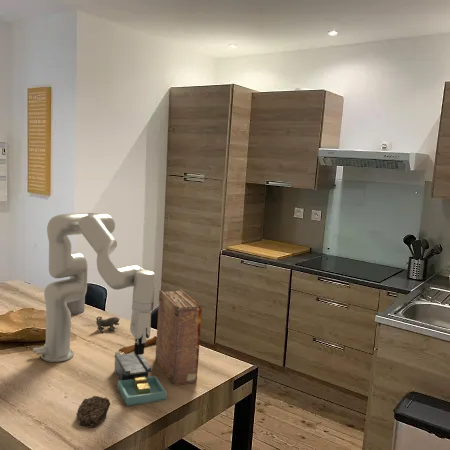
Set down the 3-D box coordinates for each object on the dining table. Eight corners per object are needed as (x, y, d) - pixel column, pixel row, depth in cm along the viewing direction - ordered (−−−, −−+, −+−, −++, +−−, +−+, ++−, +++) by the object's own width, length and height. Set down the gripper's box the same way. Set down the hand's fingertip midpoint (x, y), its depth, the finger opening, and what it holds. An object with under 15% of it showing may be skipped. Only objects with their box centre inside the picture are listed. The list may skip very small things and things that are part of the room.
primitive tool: (125, 355, 200) (125, 347, 200) (117, 351, 204) (117, 343, 204) (159, 344, 215) (160, 337, 214) (151, 341, 218) (152, 333, 218)
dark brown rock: (89, 405, 158) (90, 391, 157) (115, 413, 154) (116, 398, 154) (67, 422, 147) (67, 407, 146) (94, 430, 144) (94, 415, 143)
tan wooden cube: (136, 383, 167) (136, 391, 168) (138, 389, 164) (138, 397, 164) (147, 382, 169) (147, 390, 169) (150, 388, 165) (149, 396, 165)
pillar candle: (65, 308, 253) (66, 281, 251) (84, 307, 256) (85, 281, 254) (65, 314, 244) (66, 286, 242) (84, 314, 247) (85, 286, 245)
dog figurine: (98, 333, 221) (98, 318, 220) (94, 329, 226) (94, 314, 225) (122, 330, 228) (123, 315, 227) (118, 326, 232) (118, 311, 231)
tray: (126, 406, 159) (127, 397, 158) (117, 388, 170) (118, 380, 170) (166, 399, 165) (166, 391, 164) (155, 383, 176) (155, 375, 176)
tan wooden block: (133, 386, 171) (134, 390, 168) (133, 376, 171) (135, 380, 168) (144, 385, 173) (145, 389, 170) (144, 375, 172) (146, 379, 169)
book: (155, 358, 198) (159, 289, 194) (176, 356, 202) (180, 288, 198) (173, 386, 175) (178, 308, 172) (196, 383, 179) (202, 307, 175)
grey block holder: (124, 389, 170) (125, 371, 169) (113, 369, 185) (114, 352, 184) (151, 385, 174) (152, 367, 173) (138, 366, 189) (139, 350, 188)
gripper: (127, 298, 172) (123, 346, 175) (138, 312, 159) (134, 363, 162) (147, 298, 175) (143, 344, 178) (159, 311, 162) (155, 361, 165)
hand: (138, 353), depth 170 cm, fingers closed
